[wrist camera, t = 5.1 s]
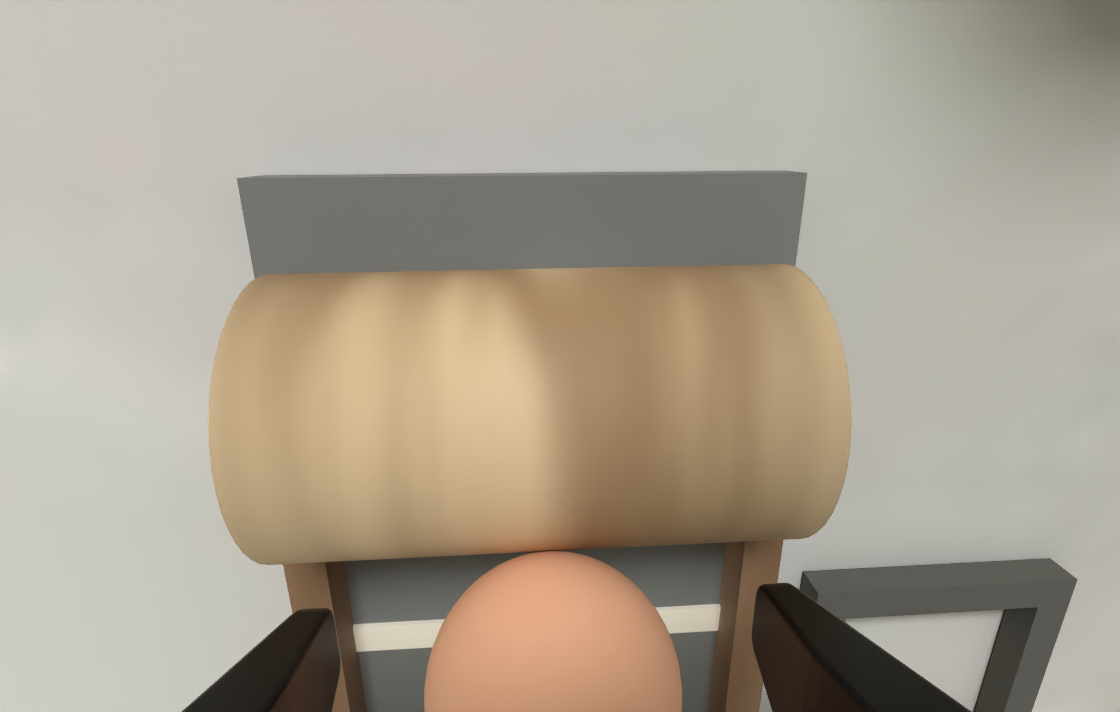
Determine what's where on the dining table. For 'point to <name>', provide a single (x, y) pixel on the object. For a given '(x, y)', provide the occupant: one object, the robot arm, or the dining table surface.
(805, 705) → the robot arm
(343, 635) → the walnut lane
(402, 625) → the runway mat
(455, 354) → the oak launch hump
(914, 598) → the grey square frame
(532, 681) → the ball
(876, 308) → the dining table surface
